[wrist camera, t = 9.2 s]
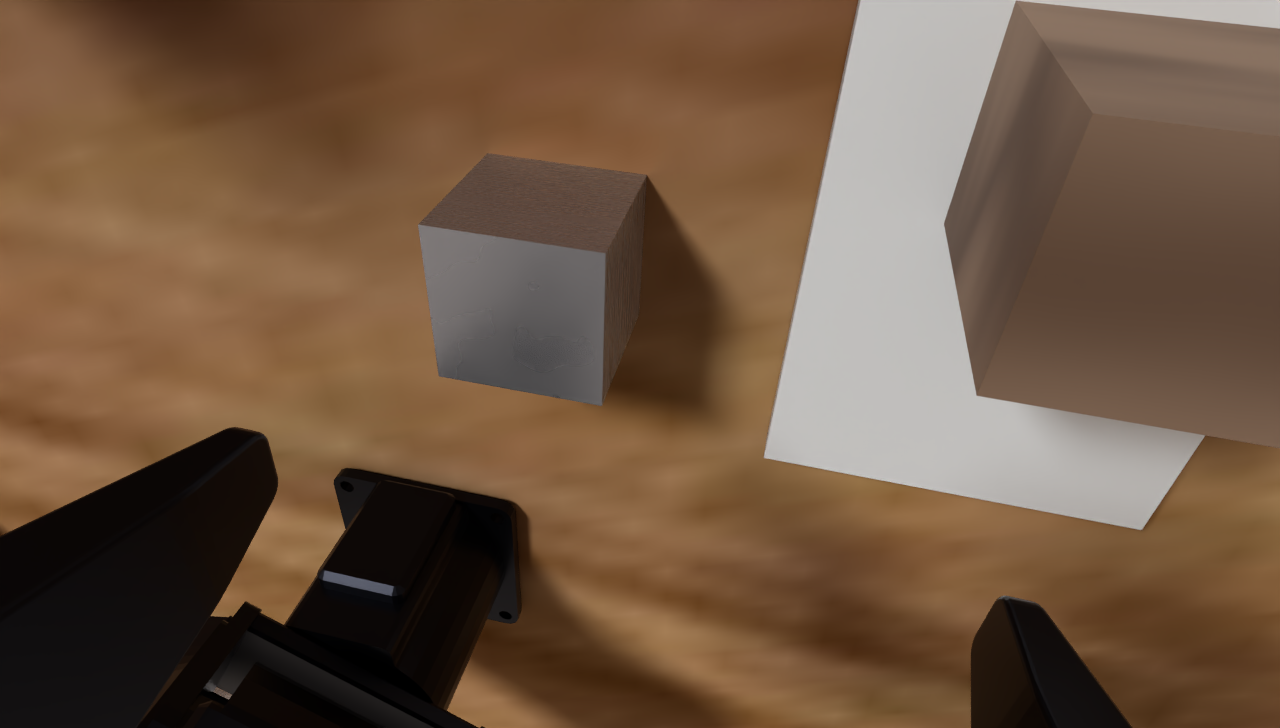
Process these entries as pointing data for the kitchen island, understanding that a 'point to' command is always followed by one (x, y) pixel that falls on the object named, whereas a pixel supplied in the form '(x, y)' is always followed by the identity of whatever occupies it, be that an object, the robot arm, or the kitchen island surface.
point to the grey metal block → (535, 275)
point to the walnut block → (1126, 221)
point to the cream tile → (939, 288)
